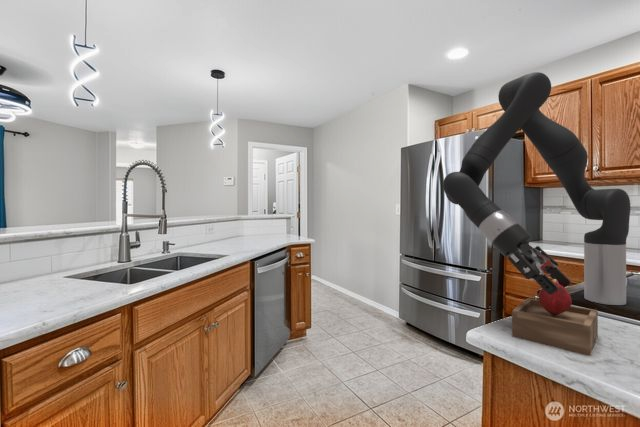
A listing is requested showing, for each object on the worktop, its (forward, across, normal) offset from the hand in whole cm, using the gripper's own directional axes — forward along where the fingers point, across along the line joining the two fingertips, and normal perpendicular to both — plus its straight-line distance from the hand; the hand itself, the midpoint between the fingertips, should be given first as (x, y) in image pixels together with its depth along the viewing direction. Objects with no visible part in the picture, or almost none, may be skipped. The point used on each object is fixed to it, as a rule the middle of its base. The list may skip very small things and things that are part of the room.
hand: (561, 288), depth 67 cm
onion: (+4, 0, +5) cm, 6 cm away
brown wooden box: (+7, 0, +9) cm, 11 cm away
